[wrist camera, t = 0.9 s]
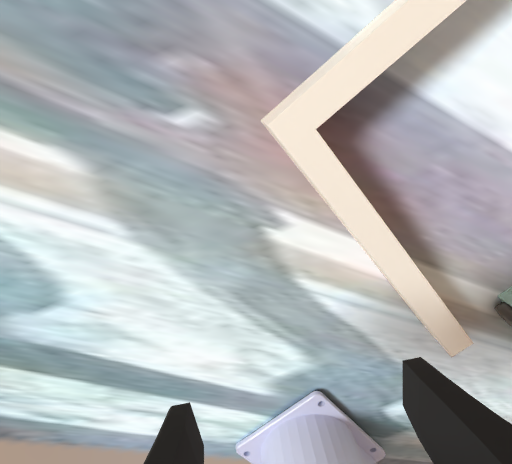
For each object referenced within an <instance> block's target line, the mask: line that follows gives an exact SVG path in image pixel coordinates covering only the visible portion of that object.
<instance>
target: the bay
mask: <svg viewBox="0 0 512 464" xmlns="http://www.w3.org/2000/svg"><path fill="white" fill-rule="evenodd" d="M465 1H467V0H395V1H394V2H393V3H392V4H390V5H389V6H388V7H387V8H386V9H385V10H384V11H383V12H381V13H380V14H379V15H378V16H377V17H376V18H375V19H374V20H372V21H371V22H370V23H369V24H368V25H367V26H366V27H365V28H364V29H362V30H361V31H360V32H359V33H358V34H357V35H356V36H355V37H353V38H352V39H351V40H350V41H349V42H348V43H347V44H346V45H345V46H343V47H342V48H341V49H340V50H339V51H338V52H337V53H336V54H334V55H333V56H332V57H331V58H330V59H329V60H328V61H327V62H325V63H324V64H323V65H322V66H321V67H320V68H319V69H318V70H317V71H315V72H314V73H313V74H312V75H311V76H310V77H309V78H308V79H306V80H305V81H304V82H303V83H302V84H301V85H300V86H299V87H297V88H296V89H295V90H294V91H293V92H292V93H291V94H290V95H289V96H287V97H286V98H285V99H284V100H283V101H282V102H281V103H280V104H278V105H277V106H276V107H275V108H274V109H273V110H272V111H271V112H269V113H268V114H267V115H266V116H265V117H264V118H263V119H262V120H261V122H262V123H263V125H264V126H265V127H266V129H267V130H268V131H269V132H270V134H271V135H272V136H273V137H274V139H275V140H276V141H277V142H278V144H279V145H280V146H281V147H282V149H283V150H284V151H285V152H286V154H287V155H288V156H289V157H290V159H291V160H292V161H293V162H294V164H295V165H296V166H297V167H298V169H299V170H300V171H301V172H302V174H303V175H304V176H305V177H306V179H307V180H308V181H309V182H310V184H311V185H312V186H313V187H314V189H315V190H316V191H317V192H318V194H319V195H320V196H321V197H322V199H323V200H324V201H325V202H326V204H327V205H328V206H329V207H330V209H331V210H332V211H333V212H334V214H335V215H336V216H337V217H338V219H339V220H340V221H341V222H342V224H343V225H344V226H345V227H346V229H347V230H348V231H349V232H350V234H351V235H352V236H353V237H354V239H355V240H356V241H357V242H358V244H359V245H360V246H361V248H362V249H363V250H364V251H365V253H366V254H367V255H368V256H369V258H370V259H371V260H372V261H373V263H374V264H375V265H376V266H377V268H378V269H379V270H380V271H381V273H382V274H383V275H384V276H385V278H386V279H387V280H388V281H389V283H390V284H391V285H392V286H393V288H394V289H395V290H396V291H397V293H398V294H399V295H400V296H401V298H402V299H403V300H404V301H405V303H406V304H407V305H408V306H409V308H410V309H411V310H412V311H413V313H414V314H415V315H416V316H417V318H418V319H419V320H420V321H421V323H422V324H423V325H424V326H425V328H426V329H427V330H428V331H429V332H430V333H431V334H432V336H433V337H434V338H435V339H436V340H437V341H438V342H439V344H440V345H441V346H442V347H443V348H444V349H445V350H446V352H447V353H448V354H449V355H450V356H451V357H453V356H455V355H456V354H458V353H459V352H461V351H462V350H464V349H465V348H467V347H469V346H470V345H472V344H473V342H472V341H471V339H470V338H469V336H468V335H467V334H466V332H465V331H464V330H463V328H462V327H461V326H460V324H459V323H458V322H457V320H456V319H455V317H454V316H453V315H452V313H451V312H450V311H449V309H448V308H447V307H446V305H445V304H444V303H443V301H442V300H441V298H440V297H439V296H438V294H437V293H436V292H435V290H434V289H433V288H432V286H431V285H430V284H429V282H428V281H427V279H426V278H425V277H424V275H423V274H422V273H421V271H420V270H419V269H418V267H417V266H416V265H415V263H414V262H413V260H412V259H411V258H410V256H409V255H408V254H407V252H406V251H405V250H404V248H403V247H402V246H401V244H400V243H399V241H398V240H397V239H396V237H395V236H394V235H393V233H392V232H391V231H390V229H389V228H388V227H387V225H386V224H385V222H384V221H383V220H382V218H381V217H380V216H379V214H378V213H377V212H376V210H375V209H374V208H373V206H372V205H371V203H370V202H369V201H368V199H367V198H366V197H365V195H364V194H363V193H362V191H361V190H360V189H359V187H358V186H357V184H356V183H355V182H354V180H353V179H352V178H351V176H350V175H349V174H348V172H347V171H346V170H345V168H344V167H343V165H342V164H341V163H340V161H339V160H338V159H337V157H336V156H335V155H334V153H333V152H332V151H331V149H330V148H329V146H328V145H327V144H326V142H325V141H324V140H323V138H322V137H321V136H320V134H319V133H318V132H317V130H316V129H317V128H318V127H319V126H320V125H321V124H323V123H324V122H325V121H326V120H327V119H329V118H330V117H331V116H332V115H333V114H334V113H336V112H337V111H338V110H339V109H340V108H341V107H343V106H344V105H345V104H346V103H347V102H348V101H350V100H351V99H352V98H353V97H354V96H355V95H357V94H358V93H359V92H360V91H361V90H362V89H364V88H365V87H366V86H367V85H368V84H369V83H371V82H372V81H373V80H374V79H375V78H376V77H378V76H379V75H380V74H381V73H382V72H383V71H385V70H386V69H387V68H388V67H389V66H391V65H392V64H393V63H394V62H395V61H396V60H398V59H399V58H400V57H401V56H402V55H403V54H405V53H406V52H407V51H408V50H409V49H410V48H412V47H413V46H414V45H415V44H416V43H417V42H419V41H420V40H421V39H422V38H423V37H424V36H426V35H427V34H428V33H429V32H430V31H431V30H433V29H434V28H435V27H436V26H437V25H438V24H440V23H441V22H442V21H443V20H444V19H446V18H447V17H448V16H449V15H450V14H451V13H453V12H454V11H455V10H456V9H457V8H458V7H460V6H461V5H462V4H463V3H464V2H465Z"/></svg>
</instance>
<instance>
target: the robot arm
mask: <svg viewBox="0 0 512 464" xmlns="http://www.w3.org/2000/svg"><path fill="white" fill-rule="evenodd" d="M320 401H321V402H320ZM403 407H404V409H405V411H406V413H407V415H408V418H409V420H410V422H411V424H412V426H413V428H414V430H415V432H416V434H417V436H418V438H419V440H420V442H421V443H422V445H423V447H424V448H425V450H426V452H427V453H428V455H429V457H430V458H431V460H432V462H433V463H434V464H512V424H510V423H509V422H507V421H506V420H504V419H503V418H501V417H500V416H499V415H497V414H496V413H494V412H493V411H491V410H490V409H489V408H487V407H486V406H485V405H483V404H482V403H480V402H479V401H478V400H476V399H475V398H473V397H472V396H471V395H469V394H468V393H467V392H465V391H464V390H463V389H461V388H460V387H459V386H457V385H456V384H455V383H453V382H452V381H451V380H450V379H448V378H447V377H446V376H444V375H443V374H442V373H440V372H439V371H438V370H437V369H435V368H434V367H433V366H432V365H430V364H429V363H428V362H426V361H425V360H424V359H422V358H421V357H419V358H414V359H409V360H404V361H403ZM236 452H237V453H238V454H239V455H241V456H242V457H243V458H245V459H246V460H248V461H249V462H250V463H252V464H377V462H378V461H380V460H382V459H383V458H384V457H385V455H386V454H385V451H384V449H383V448H382V447H381V446H380V445H378V444H377V443H376V442H375V441H374V440H373V439H372V438H371V437H370V436H369V435H368V434H366V433H365V432H364V431H363V430H362V429H361V428H360V427H359V426H358V425H357V424H356V423H354V422H353V421H352V420H351V419H350V418H349V417H348V416H347V415H346V414H345V413H344V412H342V411H341V410H340V409H339V408H338V407H337V406H336V405H335V404H334V403H333V402H332V401H330V400H329V399H328V398H327V397H326V396H325V395H324V394H323V393H322V392H320V391H314V392H312V393H310V394H309V395H308V396H306V397H305V398H303V399H302V400H300V401H299V402H297V403H296V404H294V405H293V406H291V407H290V408H289V409H287V410H286V411H284V412H283V413H281V414H280V415H278V416H277V417H275V418H274V419H272V420H271V421H269V422H268V423H267V424H265V425H264V426H262V427H261V428H259V429H258V430H256V431H255V432H253V433H252V434H250V435H249V436H247V437H246V438H245V439H243V440H242V441H240V442H239V443H238V444H236ZM144 464H204V444H203V441H202V438H201V435H200V432H199V429H198V426H197V423H196V420H195V417H194V414H193V411H192V408H191V405H190V403H185V404H180V405H175V406H171V408H170V409H169V411H168V413H167V416H166V418H165V420H164V422H163V425H162V427H161V429H160V431H159V433H158V435H157V438H156V440H155V442H154V444H153V446H152V448H151V450H150V452H149V454H148V456H147V458H146V460H145V462H144Z"/></svg>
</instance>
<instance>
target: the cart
mask: <svg viewBox="0 0 512 464" xmlns="http://www.w3.org/2000/svg"><path fill="white" fill-rule="evenodd" d="M498 297H499V299H500V300H501V302H502V303H501V304H499V305H498V306H496V307H495V309H496V311H497V312H498V314H499V315H500V316H501V317H502V318H503V319H504V320H505V321H506V322H507V323H508V324H509V325H510V326H511V327H512V287H510V288H509V289H507V290H506V291H504V292H503V293H501V294H500V295H498Z"/></svg>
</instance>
